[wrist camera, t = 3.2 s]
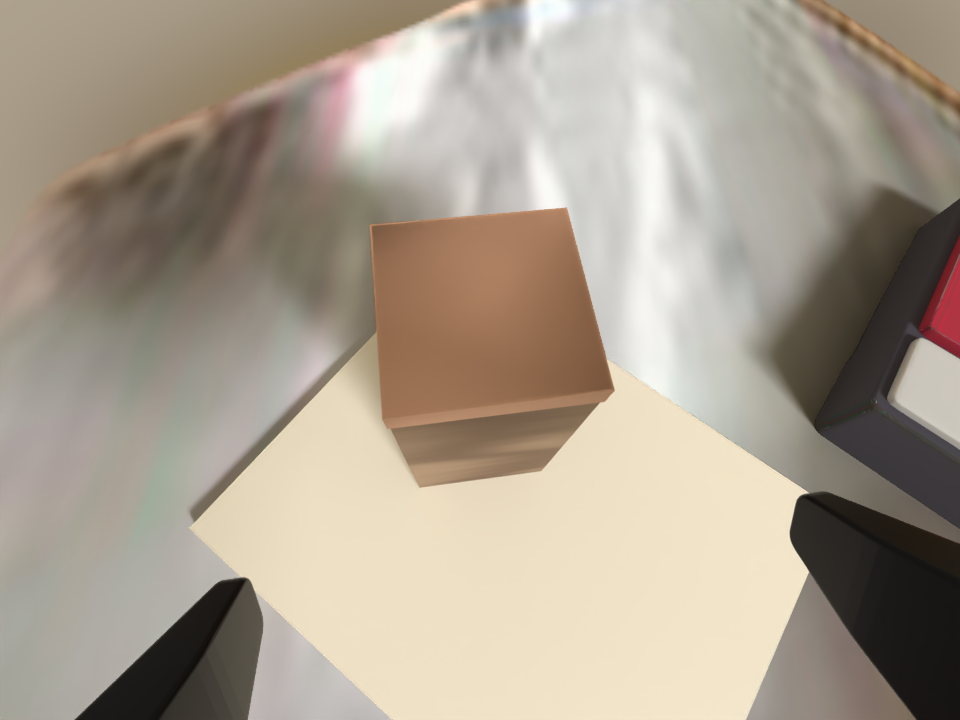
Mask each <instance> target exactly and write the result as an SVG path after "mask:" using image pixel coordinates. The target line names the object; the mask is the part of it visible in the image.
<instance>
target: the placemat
mask: <svg viewBox="0 0 960 720" xmlns="http://www.w3.org/2000/svg"><path fill="white" fill-rule="evenodd" d="M607 363H608V366H609V370H610V374H611V378H612V382H613V385H614V389H615V391H614V392H613V393H612V394H611V395H610V397H609V398H608V399H607V400H606V401H605V402H600V403H599V405H598V406H597V407H596V408H595V409H594V410H593V412H592V413H591V414H590V415H589V416H588V417H587V419H586V420H585V421H584V422H583V423H582V424H581V426H580V427H579V428H578V429H577V430H576V431H575V433H574V434H573V435H572V436H571V437H570V438H569V440H568V441H567V442H566V443H565V444H564V445H563V447H562V448H561V449H560V450H559V451H558V452H557V453H556V455H555V456H554V457H553V458H552V459H551V460H550V462H549V463H548V464H547V465H546V466H545V467H544V469H543V470H542V471H539V472H531V473H524V474H517V475H510V476H502V477H495V478H488V479H480V480H473V481H466V482H458V483H451V484H444V485H437V486H429V487H422V488H419V486H418V484H417V482H416V480H415V478H414V476H413V474H412V472H411V470H410V468H409V466H408V464H407V461H406V459H405V457H404V455H403V453H402V451H401V449H400V447H399V445H398V443H397V441H396V439H395V437H394V435H393V433H392V431H391V429H387V427H386V425H385V424H384V422H383V420H382V407H381V392H380V377H379V361H378V346H377V332H376V333H375V334H374V335H373V336H372V337H371V338H370V339H369V340H368V341H367V342H366V343H365V344H364V345H363V346H362V347H361V348H360V349H359V350H358V351H357V353H356V354H355V355H354V356H353V357H352V358H351V359H350V360H349V361H348V362H347V363H346V364H345V365H344V366H343V367H342V368H341V369H340V370H339V371H338V372H337V374H336V375H335V376H334V377H333V378H332V379H331V380H330V381H329V382H328V383H327V384H326V385H325V386H324V387H323V388H322V389H321V390H320V391H319V392H318V393H317V395H316V396H315V397H314V398H313V399H312V400H311V401H310V402H309V403H308V404H307V405H306V406H305V407H304V408H303V409H302V410H301V411H300V412H299V413H298V414H297V415H296V417H295V418H294V419H293V420H292V421H291V422H290V423H289V424H288V425H287V426H286V427H285V428H284V429H283V430H282V431H281V432H280V433H279V434H278V435H277V436H276V438H275V439H274V440H273V441H272V442H271V443H270V444H269V445H268V446H267V447H266V448H265V449H264V450H263V451H262V452H261V453H260V454H259V455H258V456H257V457H256V459H255V460H254V461H253V462H252V463H251V464H250V465H249V466H248V467H247V468H246V469H245V470H244V471H243V472H242V473H241V474H240V475H239V476H238V477H237V478H236V480H235V481H234V482H233V483H232V484H231V485H230V486H229V487H228V488H227V489H226V490H225V491H224V492H223V493H222V494H221V495H220V496H219V497H218V498H217V499H216V501H215V502H214V503H213V504H212V505H211V506H210V507H209V508H208V509H207V510H206V511H205V512H204V513H203V514H202V515H201V516H200V517H199V518H198V519H197V520H196V522H195V523H194V524H193V525H192V526H191V527H190V528H189V529H190V530H191V531H193V532H194V533H195V534H196V535H197V536H198V537H199V538H200V539H201V540H202V541H203V542H204V543H205V544H206V545H207V546H208V547H209V548H211V549H212V550H213V551H214V552H215V553H216V554H217V555H218V556H219V557H220V558H221V559H222V560H223V561H224V562H225V563H226V564H227V565H229V566H230V567H231V568H232V569H233V570H234V571H235V572H236V573H237V574H238V575H239V576H240V577H246V578H248V579H249V580H250V581H251V583H252V585H253V588H254V590H255V591H256V592H257V593H258V594H259V595H260V596H261V597H262V598H264V599H265V600H266V601H267V602H268V603H269V604H270V605H271V606H272V607H273V608H274V609H275V610H276V611H277V612H278V613H279V614H280V615H282V616H283V617H284V618H285V619H286V620H287V621H288V622H289V623H290V624H291V625H292V626H293V627H294V628H295V629H296V630H297V631H298V632H300V633H301V634H302V635H303V636H304V637H305V638H306V639H307V640H308V641H309V642H310V643H311V644H312V645H313V646H314V647H315V648H316V649H318V650H319V651H320V652H321V653H322V654H323V655H324V656H325V657H326V658H327V659H328V660H329V661H330V662H331V663H332V664H333V665H335V666H336V667H337V668H338V669H339V670H340V671H341V672H342V673H343V674H344V675H345V676H346V677H347V678H348V679H349V680H350V681H351V682H353V683H354V684H355V685H356V686H357V687H358V688H359V689H360V690H361V691H362V692H363V693H364V694H365V695H366V696H367V697H368V698H369V699H371V700H372V701H373V702H374V703H375V704H376V705H377V706H378V707H379V708H380V709H381V710H382V711H383V712H384V713H385V714H386V715H387V716H389V717H390V718H391V719H392V720H746V718H747V716H748V713H749V711H750V709H751V706H752V704H753V702H754V699H755V697H756V695H757V692H758V690H759V688H760V685H761V683H762V681H763V678H764V676H765V674H766V671H767V669H768V667H769V664H770V662H771V660H772V657H773V655H774V653H775V650H776V648H777V646H778V643H779V641H780V639H781V636H782V634H783V632H784V629H785V627H786V625H787V622H788V620H789V618H790V615H791V613H792V610H793V608H794V606H795V603H796V601H797V599H798V596H799V594H800V592H801V589H802V587H803V585H804V582H805V580H806V578H807V575H808V573H809V571H808V569H807V568H806V566H805V565H804V563H803V561H802V560H801V558H800V557H799V555H798V554H797V552H796V551H795V549H794V547H793V545H792V543H791V540H790V535H789V531H790V526H791V522H792V517H793V513H794V508H795V504H796V500H797V498H798V497H799V496H800V495H802V494H807V493H808V492H807V491H805V490H804V489H802V488H801V487H799V486H798V485H796V484H795V483H793V482H792V481H790V480H789V479H787V478H786V477H784V476H783V475H781V474H780V473H778V472H777V471H775V470H774V469H772V468H771V467H769V466H768V465H766V464H765V463H763V462H762V461H760V460H759V459H757V458H756V457H754V456H753V455H751V454H750V453H748V452H747V451H745V450H744V449H742V448H740V447H739V446H737V445H736V444H734V443H733V442H731V441H730V440H728V439H727V438H725V437H724V436H722V435H721V434H719V433H718V432H716V431H715V430H713V429H712V428H710V427H709V426H707V425H706V424H704V423H703V422H701V421H700V420H698V419H697V418H695V417H694V416H692V415H691V414H689V413H688V412H686V411H685V410H683V409H682V408H680V407H679V406H677V405H676V404H674V403H673V402H671V401H670V400H668V399H667V398H665V397H664V396H662V395H661V394H659V393H658V392H656V391H655V390H653V389H651V388H650V387H648V386H647V385H645V384H644V383H642V382H641V381H639V380H638V379H636V378H635V377H633V376H632V375H630V374H629V373H627V372H626V371H624V370H623V369H621V368H620V367H618V366H617V365H615V364H614V363H612V362H611V361H609V360H608V359H607Z"/></svg>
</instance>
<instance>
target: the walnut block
mask: <svg viewBox="0 0 960 720" xmlns="http://www.w3.org/2000/svg"><path fill="white" fill-rule="evenodd" d="M370 239H371V254H372V270H373V285H374V300H375V316H376V331H377V346H378V361H379V377H380V392H381V407H382V420H383V422H384V424H385V425H386V427H387V429H391V431H392V433H393V435H394V437H395V439H396V441H397V443H398V445H399V447H400V449H401V451H402V453H403V455H404V457H405V459H406V461H407V464H408V466H409V468H410V470H411V472H412V474H413V476H414V478H415V480H416V482H417V484H418V486H419V488H422V487H429V486H437V485H444V484H451V483H458V482H466V481H473V480H480V479H488V478H495V477H502V476H510V475H517V474H524V473H531V472H539V471H542V470H543V469H544V467H545V466H546V465H547V464H548V463H549V462H550V460H551V459H552V458H553V457H554V456H555V455H556V453H557V452H558V451H559V450H560V449H561V448H562V447H563V445H564V444H565V443H566V442H567V441H568V440H569V438H570V437H571V436H572V435H573V434H574V433H575V431H576V430H577V429H578V428H579V427H580V426H581V424H582V423H583V422H584V421H585V420H586V419H587V417H588V416H589V415H590V414H591V413H592V412H593V410H594V409H595V408H596V407H597V406H598V405H599V403H600V402H605V401H606V400H607V399H608V398H609V397H610V395H611V394H612V393H613V392H614V391H615V389H614V385H613V382H612V378H611V374H610V370H609V366H608V363H607V359H606V355H605V351H604V347H603V344H602V340H601V336H600V332H599V328H598V325H597V321H596V317H595V313H594V309H593V306H592V302H591V298H590V294H589V290H588V287H587V283H586V279H585V275H584V271H583V268H582V264H581V260H580V256H579V252H578V248H577V245H576V241H575V237H574V233H573V229H572V226H571V222H570V218H569V214H568V210H567V208H557V209H545V210H534V211H522V212H511V213H499V214H488V215H476V216H465V217H453V218H441V219H430V220H418V221H407V222H395V223H384V224H372V225H370Z"/></svg>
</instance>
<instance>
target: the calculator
mask: <svg viewBox="0 0 960 720" xmlns="http://www.w3.org/2000/svg"><path fill="white" fill-rule="evenodd" d="M815 429H816V430H817V432H818V433H819V434H820V435H822V436H823V437H825V438H826V439H827V440H829V441H830V442H832V443H833V444H835V445H836V446H838V447H839V448H841V449H842V450H844V451H845V452H847V453H848V454H850V455H851V456H853V457H854V458H856V459H857V460H859V461H860V462H862V463H863V464H864V465H866V466H867V467H869V468H870V469H872V470H873V471H875V472H876V473H878V474H879V475H881V476H882V477H884V478H885V479H887V480H888V481H890V482H891V483H893V484H894V485H896V486H897V487H899V488H900V489H901V490H903V491H904V492H906V493H907V494H909V495H910V496H912V497H913V498H915V499H916V500H918V501H919V502H921V503H922V504H924V505H925V506H927V507H928V508H930V509H931V510H933V511H934V512H936V513H937V514H938V515H940V516H941V517H943V518H944V519H946V520H947V521H949V522H950V523H952V524H953V525H955V526H956V527H958V528H959V529H960V199H959V200H957V201H956V202H955V203H953V204H952V205H951V206H949V207H948V208H947V209H945V210H944V211H943V212H941V213H940V214H939V215H937V216H936V217H935V218H933V219H932V220H931V221H929V222H928V223H927V224H925V225H924V226H923V227H921V228H920V229H919V231H918V232H917V234H916V236H915V238H914V240H913V241H912V243H911V245H910V247H909V249H908V251H907V253H906V254H905V256H904V258H903V260H902V262H901V264H900V265H899V267H898V269H897V271H896V273H895V275H894V277H893V278H892V280H891V282H890V284H889V286H888V288H887V290H886V292H885V294H884V296H883V298H882V300H881V302H880V304H879V306H878V308H877V310H876V312H875V314H874V316H873V318H872V320H871V322H870V324H869V326H868V328H867V330H866V332H865V334H864V336H863V338H862V340H861V342H860V344H859V346H858V348H857V350H856V352H855V353H854V355H853V356H852V357H851V358H850V359H849V361H848V362H847V363H846V365H845V366H844V368H843V370H842V372H841V374H840V375H839V377H838V379H837V381H836V383H835V385H834V387H833V388H832V390H831V392H830V394H829V396H828V398H827V399H826V401H825V403H824V405H823V407H822V409H821V410H820V412H819V414H818V416H817V418H816V420H815Z"/></svg>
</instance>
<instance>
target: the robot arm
mask: <svg viewBox="0 0 960 720" xmlns="http://www.w3.org/2000/svg"><path fill="white" fill-rule="evenodd" d="M789 535H790V540H791V543H792V545H793V547H794V549H795V551H796V552H797V554H798V555H799V557H800V558H801V560H802V561H803V563H804V565H805V566H806V568H807V569H808V571H809V572H810V574H811V575H812V577H813V578H814V580H815V581H816V583H817V584H818V586H819V588H820V589H821V591H822V592H823V594H824V595H825V597H826V598H827V600H828V601H829V603H830V604H831V606H832V608H833V609H834V611H835V612H836V614H837V615H838V617H839V618H840V620H841V621H842V623H843V624H844V626H845V627H846V629H847V630H848V631H849V633H850V634H851V636H852V637H853V638H854V640H855V641H856V642H857V644H858V645H859V646H860V648H861V649H862V651H863V652H864V653H865V654H866V656H867V657H868V658H869V660H870V661H871V662H872V663H873V665H874V666H875V667H876V669H877V670H878V671H879V672H880V674H881V675H882V676H883V678H884V679H885V680H886V681H887V683H888V684H889V685H890V687H891V688H892V689H893V690H894V692H895V693H896V694H897V696H898V697H899V698H900V699H901V701H902V702H903V703H904V705H905V706H906V707H907V708H908V710H909V711H910V712H911V714H912V715H913V716H914V718H915V719H916V720H960V544H959V543H956V542H954V541H951V540H949V539H946V538H943V537H941V536H938V535H936V534H933V533H931V532H928V531H926V530H923V529H921V528H918V527H915V526H913V525H910V524H908V523H905V522H903V521H900V520H898V519H895V518H892V517H890V516H887V515H885V514H882V513H880V512H877V511H875V510H872V509H870V508H867V507H864V506H862V505H859V504H857V503H854V502H852V501H849V500H847V499H844V498H841V497H839V496H836V495H834V494H831V493H828V492H814V493H807V494H802V495H800V496H799V497H798V498H797V500H796V504H795V508H794V513H793V517H792V522H791V526H790V531H789ZM262 633H263V616H262V612H261V609H260V606H259V603H258V600H257V597H256V594H255V591H254V588H253V585H252V583H251V581H250V580H249V579H248V578H246V577H241V578H234V579H227V580H222V581H220V582H218V583H217V584H215V585H214V586H213V587H212V588H211V589H210V590H209V591H208V592H207V593H206V594H205V595H204V596H203V597H202V598H201V599H200V600H199V601H197V602H196V603H195V604H194V605H193V606H192V607H191V608H190V609H189V610H188V611H187V612H186V613H185V614H184V615H183V616H182V617H181V618H180V619H179V620H178V621H177V622H176V623H175V624H174V625H173V626H172V627H170V628H169V629H168V630H167V631H166V632H165V633H164V634H163V635H162V636H161V637H160V638H159V639H158V640H157V641H156V642H155V643H154V644H153V645H152V646H151V647H150V648H149V649H148V650H147V651H146V652H145V653H143V654H142V655H141V656H140V657H139V658H138V659H137V660H136V661H135V662H134V663H133V664H132V665H131V666H130V667H129V668H128V669H127V670H126V671H125V672H124V673H123V674H122V675H121V676H120V677H119V678H118V679H116V680H115V681H114V682H113V683H112V684H111V685H110V686H109V687H108V688H107V689H106V690H105V691H104V692H103V693H102V694H101V695H100V696H99V697H98V698H97V699H96V700H95V701H94V702H93V703H92V704H91V705H89V706H88V707H87V708H86V709H85V710H84V711H83V712H82V713H81V714H80V715H79V716H78V717H77V718H76V719H75V720H248V715H249V709H250V703H251V697H252V691H253V685H254V680H255V674H256V668H257V662H258V656H259V651H260V645H261V639H262Z"/></svg>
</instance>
